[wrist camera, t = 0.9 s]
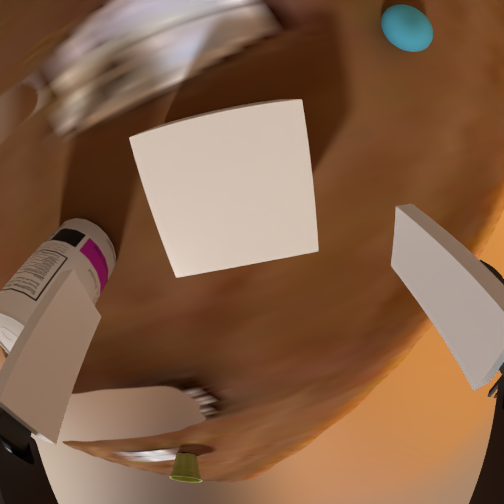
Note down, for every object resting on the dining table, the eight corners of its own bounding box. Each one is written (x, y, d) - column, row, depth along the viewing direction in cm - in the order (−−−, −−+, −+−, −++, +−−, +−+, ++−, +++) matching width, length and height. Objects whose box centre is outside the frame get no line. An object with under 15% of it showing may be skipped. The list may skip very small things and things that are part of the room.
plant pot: (195, 460, 67) (194, 483, 60) (166, 454, 64) (165, 478, 56) (207, 454, 63) (207, 480, 56) (177, 448, 60) (175, 474, 53)
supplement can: (130, 243, 28) (73, 354, 15) (101, 288, 30) (55, 389, 18) (72, 201, 24) (-16, 287, 12) (51, 252, 27) (-14, 340, 14)
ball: (367, 7, 16) (392, -6, 12) (408, 14, 16) (437, 6, 12) (376, 51, 19) (405, 45, 14) (417, 56, 18) (447, 54, 14)
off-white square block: (163, 123, 22) (129, 137, 14) (277, 99, 21) (301, 99, 14) (190, 224, 27) (176, 277, 19) (293, 204, 27) (318, 251, 19)
